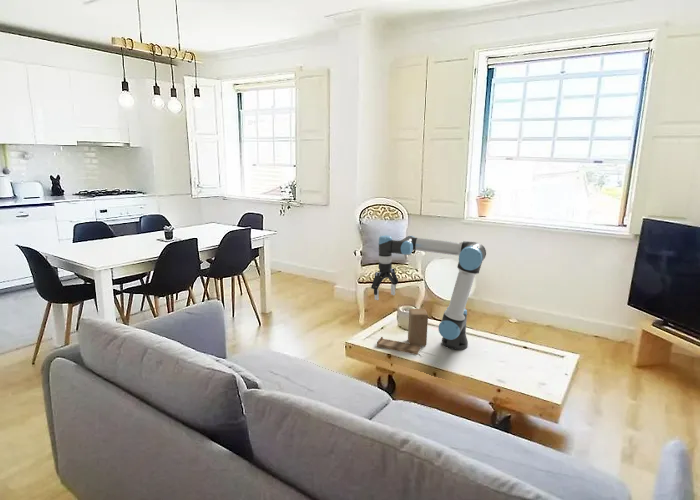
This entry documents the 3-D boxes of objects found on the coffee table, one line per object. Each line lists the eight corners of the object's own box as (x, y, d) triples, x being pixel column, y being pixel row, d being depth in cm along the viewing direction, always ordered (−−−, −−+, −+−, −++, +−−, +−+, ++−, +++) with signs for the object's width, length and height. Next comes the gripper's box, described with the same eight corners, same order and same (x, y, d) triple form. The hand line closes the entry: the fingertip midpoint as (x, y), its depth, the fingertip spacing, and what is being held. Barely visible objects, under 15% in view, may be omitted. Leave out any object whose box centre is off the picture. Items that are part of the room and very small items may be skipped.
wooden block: (426, 346, 259) (428, 314, 254) (409, 346, 259) (410, 314, 254) (424, 339, 269) (425, 308, 264) (407, 339, 269) (409, 308, 264)
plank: (420, 348, 256) (420, 344, 255) (417, 354, 249) (417, 349, 248) (381, 341, 265) (381, 336, 264) (376, 346, 258) (377, 342, 257)
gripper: (395, 257, 267) (395, 291, 271) (364, 264, 251) (365, 300, 256) (404, 259, 261) (404, 294, 266) (373, 267, 245) (373, 303, 250)
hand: (384, 297), depth 261 cm, fingers open, 13 cm apart
